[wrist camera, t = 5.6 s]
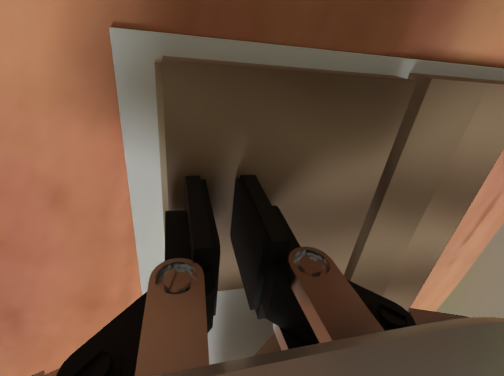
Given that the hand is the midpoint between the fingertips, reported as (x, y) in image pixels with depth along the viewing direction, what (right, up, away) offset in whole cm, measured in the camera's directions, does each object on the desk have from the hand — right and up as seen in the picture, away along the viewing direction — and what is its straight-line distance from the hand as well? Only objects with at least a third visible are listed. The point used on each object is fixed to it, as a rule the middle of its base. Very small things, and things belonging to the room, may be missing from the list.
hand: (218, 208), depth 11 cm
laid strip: (+9, -4, +7) cm, 12 cm away
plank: (+2, +1, +2) cm, 3 cm away
